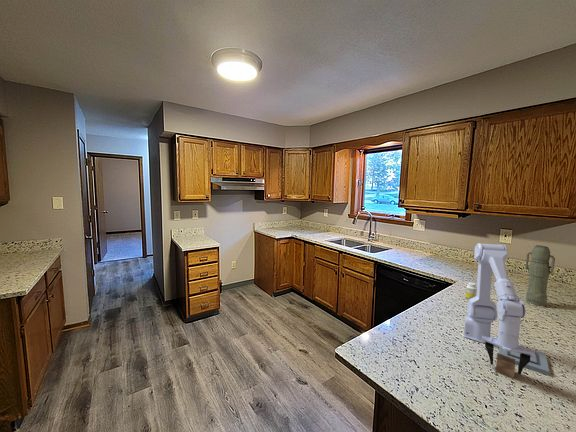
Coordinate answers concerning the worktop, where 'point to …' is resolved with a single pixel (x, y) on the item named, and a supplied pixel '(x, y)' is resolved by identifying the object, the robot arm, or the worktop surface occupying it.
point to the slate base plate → (535, 364)
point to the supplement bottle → (471, 290)
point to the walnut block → (505, 365)
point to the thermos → (539, 275)
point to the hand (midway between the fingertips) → (505, 368)
